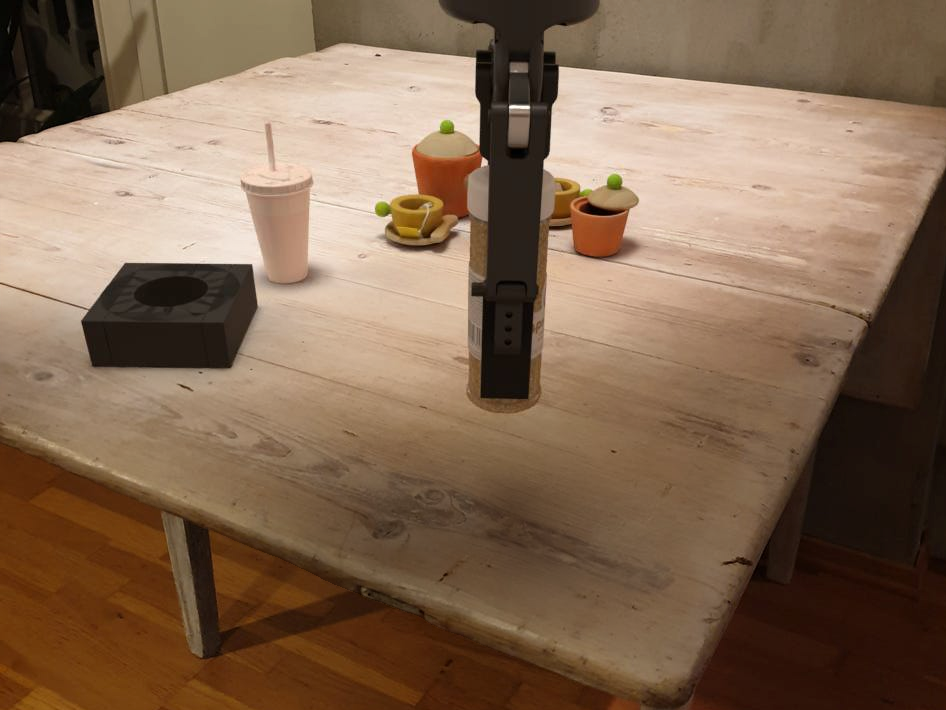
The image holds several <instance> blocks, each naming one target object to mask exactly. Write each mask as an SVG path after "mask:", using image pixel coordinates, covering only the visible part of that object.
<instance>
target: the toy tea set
mask: <svg viewBox="0 0 946 710" xmlns="http://www.w3.org/2000/svg"><path fill="white" fill-rule="evenodd" d="M411 157H412V162H413V163H412V164H413V168H414V174H415V180H416V181H415V182H416V186H417V192H418V194H405V195H400V196H397V197H395V198H393V199H392V200H391V201H390V203H389V204H388V202H386V201H379V202H377V203H376V204H375V206H374V213H375V214H376V216H378V217H379V218H386V217H387V216H389V215H391V219H392V220H391V221H389V222H388V223H387V224H386V225H385V227H384V234H385V236H386V237H387V238H388V239H389V240H391V241H392V242H395V243H398V244H401V245H406V246H427V245H428V246H429V245H432V244H436V243H437V244H438V243H442V242H444V241H445V239H447V238H448V237H449V236H450V235H451V229H452V228H455V227H456V226H457V225H458V224H459V218H463V217H466V216H469V211H468V208H467V194H468V179H469V176H470V174H471V173H472V172H473V171H474V170H476V169H478V168H480V167H482V163H483V157H482V156H481V154H480V150H479V144H477V143H476V142H474V140H473V139H471V137H469V136H468V135H467V134H465V133H463V132H461V131H458V130H455V124H454V123H453V121H452V120H450V119H444V120H443V121H441V122H440V125H439V130H435V131H433V132H431V133H430V134H428V135H426V136H425V137H424V138H423V139H421V140H420V142H418V143H417V144H416V145H414V146H413V148H412V151H411ZM554 179H555V203H554V211H553V213H552V214H551V217H552V218H551V219H550V222H549V227H560V226H561V227H562V226H567V225H571V230H572V231H571V232H572V243H573V247H574V249H575V250H576V251H577V252H578V253H580V254H582V255H585V256H589V257H594V258H595V257H596V258H597V257H598V258H603V257H609V256H613V255H615V254H616V253H618V252H619V251H620V249H621V245H622V241H623V237H624V233H625V230H626V226H627V222H628V218H629V214H630V211H631V209H633V208H636V207H637V206H638V204H639V203H640V198H639V196H638V195H637V194H636V193H635V192H634V191H632V190H631V189H630V188H628V187H626V186H623V177H621V176H620V175H619V174H618V173H612V174H610V175H609V176H608V177H607V178H606V179H607V180H606V185H602V186H599V187H597V188H595V189H594V190H592V189H591V188H586V189H583V190H582V191H581V185H580V183H579V182H577V181H575V180H572V179H569V178H564V177H554Z"/></svg>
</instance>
